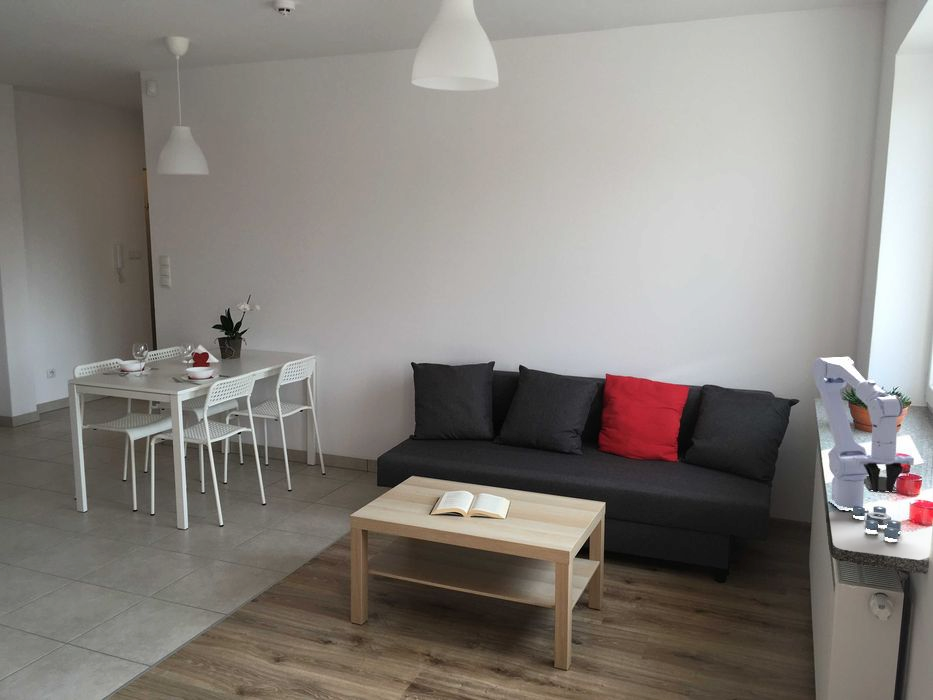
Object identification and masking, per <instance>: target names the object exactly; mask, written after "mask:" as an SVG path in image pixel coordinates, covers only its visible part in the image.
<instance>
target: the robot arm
mask: <svg viewBox="0 0 933 700" xmlns="http://www.w3.org/2000/svg"><path fill="white" fill-rule="evenodd" d="M811 372H812V373H811V374H812V376H813V379H814V380H813V381H814V383H815V387H816V388H817V389H818V390H819V393H820V398H821V400H822V403H823V407H824V411H825V414H826V418H827V421H828V425H829V428H830V431H831V436H832V438H833V443H834V446H833V448H831V449H830V451H829V452H828V461H829V463H828V466H829V470H830V472H831V473H832V475H833V478H832V480H831V499H832V500H834V501H835V503H836V504H837V505H839V506H843V507H847V508H853V507H854V506H860V507H863V506H864V492H865V491H864V489H865V488H864V487H865V484H864V479H866V478H867V476H869V478H870V481H871V486H872V490H873V491H875V492H874V493H879V492H878V480H879V476H880V475H881V474H880V473H881V468H879V465H885V471H886V472H885V474H886V475H885V476H886V477H887V479H886V490H888V491H889V492H892V491H893V487H894V486H895V483H896V482H897V479H898V478H899V476H900V475H901V473H902V472H903V471H904V467H903V465H909V466H913V465H914V463H915V462H914V461H915V460H914V457H913V456H911V455H908V456H907V455H897V432H898V431H897V430H898V418H899V417H901V416H902V414H903V412H904V411H903V410H904V405H903V402H902V400H901V399H900V398H899V396H898V395H894V394H888V393H887V392H886V391H885V390H883V389H882V388H881V387H880V386H878V384H877V382H876V381H875V380H869V379H868V380H866V379H865V378H864V377H863V375H861V373H860V372H859V371H858V370H857V369H856V367H855V362H854V361H853V360H852V359H851V358H850V357H849V356H843V357H838V356H837V357H817V358H815V360H814V361H813V363H812V368H811ZM848 384H849V386H850V387H852V388H853V389H855V392H854V394H855V396H856V397H857V398H858V399H859V400H860V401H861V402H862V403H864V405H866V406H867V412H868V414H869V419H870V420H869V421H870V424H872V425H871V426H872V427H871V454H868V453H867V450H866V449H865V447H863V446H862V445H860V444H859V443H857V442H855V438H854V435H853V431H852V428H851V425H850V421H849V419H848V415H847V412H846V408H845V405H844V402H843V398H842V393H841V389H843V388H845V387H846V386H847V385H848Z"/></svg>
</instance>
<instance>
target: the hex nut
mask: <svg viewBox="0 0 933 700" xmlns="http://www.w3.org/2000/svg"><path fill="white" fill-rule="evenodd" d="M866 520H874V521H877V522H878V524H879V525H887V524H888V521H889V520H892V516H890V515H889V514H888V513H886V514H885V513H878V512H873V511H872V512H868V513H866Z"/></svg>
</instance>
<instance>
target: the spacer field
mask: <svg viewBox="0 0 933 700" xmlns="http://www.w3.org/2000/svg"><path fill="white" fill-rule="evenodd" d="M872 512H878V513H885V514H887V508H886V507H884V506H880V505H879V506H873V510H872ZM865 513H866V511H865V508H863V507H860V506H854V507H853V511H852V514H853V515H855V516H865V515H866V514H865ZM864 526H865V528H867V529H870V530H878V531H879V529H878V522H877V521H874V520H867V519H866V520H865V525H864ZM901 526H902V523H901V521H899V520H894V519H893V520H892V519H891V520H889V521H888V525H887V528H885V529H884V530H883V531H884V532H883V536H885V537H888V538H893V539H897V538H898V539H899V535H898V532H899V531H901V529H902V527H901Z"/></svg>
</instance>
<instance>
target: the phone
mask: <svg viewBox="0 0 933 700" xmlns="http://www.w3.org/2000/svg"><path fill="white" fill-rule="evenodd" d="M886 479H887V476H880V475H879V480H878V491H881V492H885V491H888V490H886ZM864 483H865V484H866V485H865V484H864V485H865V487H866V486H867V487H868V488H869V489H870V490H872V486H871V481H870V478H869V475H867V478H866V479H864ZM867 487H866V488H867ZM868 488H867V489H868ZM895 489H897V487H896V486H895V485H894V487H893V491H896V490H895Z"/></svg>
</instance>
